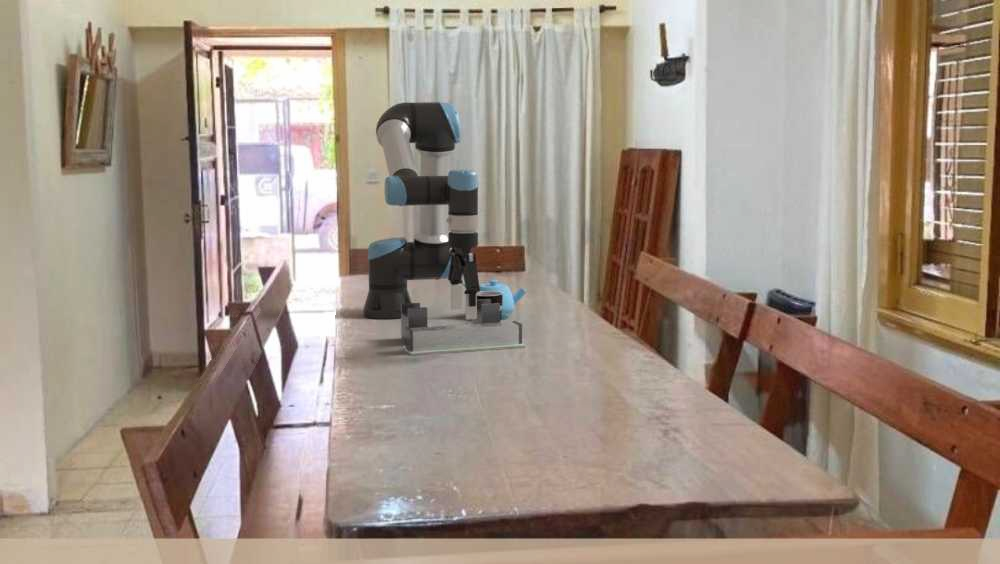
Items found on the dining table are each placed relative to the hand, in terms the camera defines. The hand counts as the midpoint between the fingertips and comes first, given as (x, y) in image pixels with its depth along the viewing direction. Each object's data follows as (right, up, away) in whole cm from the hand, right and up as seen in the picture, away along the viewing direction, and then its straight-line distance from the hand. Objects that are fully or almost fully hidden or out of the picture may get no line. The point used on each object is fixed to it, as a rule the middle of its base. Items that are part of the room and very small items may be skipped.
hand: (463, 314), depth 257 cm
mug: (+6, -5, +29) cm, 30 cm away
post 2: (+6, -7, +16) cm, 18 cm away
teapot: (+8, -3, +45) cm, 46 cm away
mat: (0, -9, +1) cm, 9 cm away
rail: (0, -8, +1) cm, 8 cm away
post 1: (-13, -7, +10) cm, 18 cm away
